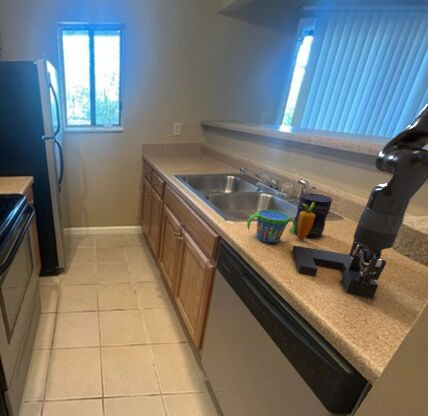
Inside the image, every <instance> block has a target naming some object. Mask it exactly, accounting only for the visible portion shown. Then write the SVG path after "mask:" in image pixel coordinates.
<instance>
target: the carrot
mask: <svg viewBox="0 0 428 416" xmlns="http://www.w3.org/2000/svg"><path fill="white" fill-rule="evenodd" d="M302 205H303V206H304V207H305V210H306V211H302V212H300V214H299V218H298V223H297V234H298V235H297V239H298V240H299V241H303V240H304V239H305V237H306V236H307V235H308V233H309V231H310V230H311V228H312V225H313V222H314V219H315V214H314V213H312V212H311V210H312V209H313V207H314V205H315V203H314V202H312V204H311V207H310V208H309V209H308V207H307V205H306V204H302Z"/></svg>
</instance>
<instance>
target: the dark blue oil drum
mask: <svg viewBox="0 0 428 416" xmlns="http://www.w3.org/2000/svg"><path fill="white" fill-rule="evenodd" d="M311 188H312V189H317V187H316V186H311ZM312 202H314V203H315V205H314V207H313V209H312V210H311V212H312V213H314V214H315V219H314V222H313V225H312V228H311V230H310V231H309V233H308V235H307V236H306V237H305V238H306V239H314V240H316V239H320V238H322V236H323V235H322V234H323V232H324V230H325V226H326V220H327V217H328V215H329V213H330V210H331V207H332V202H333V198H332V197H330V196H328V195H324V194H318V193H308V192H306V193H301V194H300V196H299V200H298V203H297V206H296V207H297V208H296V209H297V211H296V215H295V217H294V219H293V220H294V222H295V224H296V229H295V232H294V234H295V235H296V236H298V234H297V223H298V218H299V214H300V212H302V211H306V210H305V207H304V206H303V205H302V204H306V205H307V207H308V209H309V208H310V207H311V204H312ZM305 238H304V239H305Z"/></svg>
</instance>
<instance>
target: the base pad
mask: <svg viewBox="0 0 428 416" xmlns="http://www.w3.org/2000/svg"><path fill="white" fill-rule="evenodd" d="M292 246H293V247H292V251H291V252H292V256H293V260H294V263H295V265H296V268H297V272H298V274H304V275H308V276H313V277H315V276H316V275H317V271H318V267H323V268H329V269H334V270H340V271H341V273H342V274H343V273H344V270H348V269H349V266H350V264H351V257H352V256H350V255H349V253H343V252H336V251H332V250H331V251H330V250H325V249H320V248H319V249H317V248H313V247H307V246H301V245H292ZM359 272H361V269H360V271H359Z"/></svg>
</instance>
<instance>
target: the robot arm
mask: <svg viewBox="0 0 428 416" xmlns="http://www.w3.org/2000/svg"><path fill="white" fill-rule="evenodd" d="M426 146H428V103H427V104H426V105H425V106H424V108H422V110H421V111H420V112H419V114H418V115H417V116H416V117H415V118H414V120H413V121H412V123H411V124H409V125H408V126H407V127H405V128H404V129H403V130H401V131H400V132H399V133H398V134H397V135H395V136H394V137H393V138H392V139H391V140H389V141H388V142H387V143H385V145H383V146H382V148H381V149H380V150H379V151H378V153H377V155H376V157H375V159H374V166H375V168H376V169H377V171H379V172H381V173H383V174H387V175H390V176H392V177H391V178H390V180H389V181H388V182H387V183H383V184H377V185H375V186H374V187H373V188H372V189H371V192H370V194H369V196H368V199H367V202H366V203H365V204H366V205H365V207H364V209H363V211H362V213H361V214H360V217H359V220H358V223H357V225H356V228H355V230H354V233H353V242H352V245H351V246H350V247H351V248H350V250H349V253H348V254H349V255H350V256H352V257H351V264H350V266H349V269H348V270H350V271H356V272H359V271H360V269H361V273H360V276H359V278H358V281H357V284H356V286H357V288H361V289H367V288H368V286H369V284H370V281H371V279H373V280H375V281H378V280H379V279H380V277H381V274H382V273H383V271H384V269H385V266H386V265H387V260H386V259H382V251H384V250H387V249H391V248H393V246H394V244H395V242H396V239H397V237H398V235H399V233H400V230H401V228H402V226H403V223H404V219H405V215H406V212H407V210H408V208H409V205H410V203H411V200H412V198H413V197H414V196H415V195H416V194H417V193H418V192H419V191H420V189H421V188H422V187H423V186H424V185H425V184H426V183H427V182H428V149H427V148H425V147H426Z"/></svg>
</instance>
